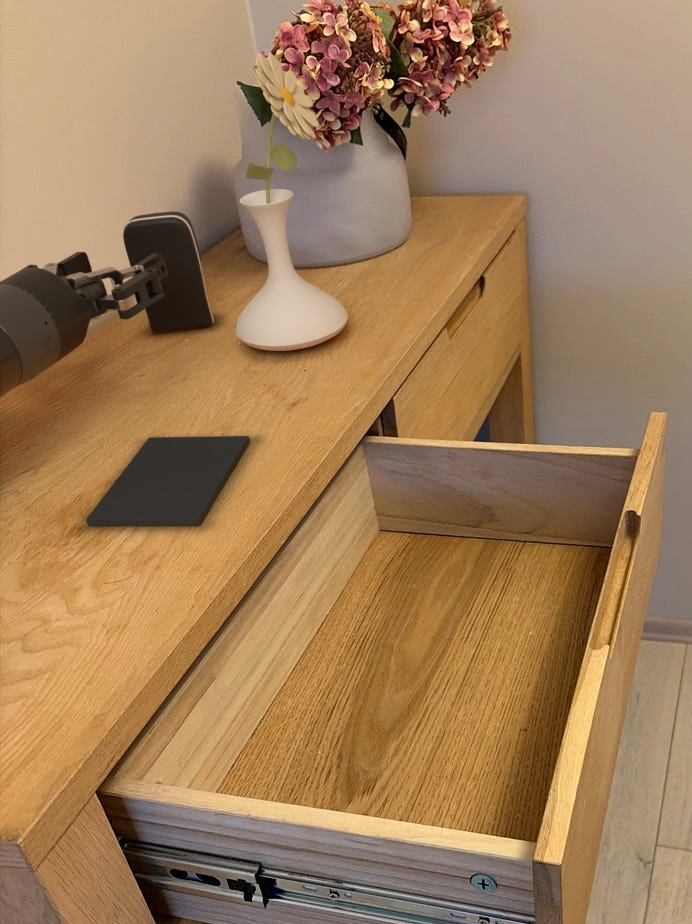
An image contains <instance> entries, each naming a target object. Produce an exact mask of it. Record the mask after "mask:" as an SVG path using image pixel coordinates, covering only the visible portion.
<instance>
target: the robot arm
mask: <svg viewBox="0 0 692 924" xmlns="http://www.w3.org/2000/svg"><path fill="white" fill-rule="evenodd" d="M167 275H168V272H167V268H166V265H165V261H164V259H163V256H162V255H161V254H152V255H150V256H148V257H147V258H145V259H144V260H142V261H141V262H139V263H138V264H136V265H135V266H133V267H131V266H130V267H126V268H123V269H119V270H118V269H117V268H115V267H113V266H108V267H103V268H101V269H96V270H93V268H92V265H91V263H90V259H89V256H88V254H87V252H85V251H76V252H74V253H73V254H71V255H69V256H68V257H66V258H64V259H63V260H61V261H59V262H48V263H47V264H45V265H44V266H43V267H42V268H41V267H39V266H38V265H37V264H28V265H26V266H25V267H23V268H21V269H20V270H18V271H16V272H15V273H12V274H11V275H9V276H8V277H6V278H4V279H2V280H0V399H1V398H2V397H4V396H5V395H7V394H8V393H9V392H11V391H12V390H13V389H15V388H16V387H18V386H21V385H24V384H25V383H27V382H30V381H32V380H33V379H35V378H36V377H38V376H40V374H43V372H45V371H47V370H48V369H49V368H51V367H52V366H54V365H55V364H56V363H58V362H60V361H61V360H62V359H63V358H65V357H66V356H68V355H69V354H70V353H73V351H75V350H76V349H78V348H79V347H80V346H81V345H82V344H83V342H84V341H85V339H86V337H87V333H88V329H89V326H90V322H91V321H94V320H97V319H100V318H101V317H102V315H105V314H109V313H111V312H115V311H117V315H118V317H119V319H120V320H129V319H131V318H133V317H135V316H137V315H138V314H139V313H141V312H142V311H144V310H145V308H147V307H149V306H150V305H152V304H153V303H155V302H156V301H158V300H159V299H161V298H162V297H164V293H163V290H162V286H161V283H160V281H161V280H162V279H164V278H165V277H166V276H167ZM128 278H129V279H128ZM105 279H109V280H110V283H111V286H112V289H111V290H110V291H111V293H110V294H108V291H107V288H106V286H105V283H104V281H103V280H105ZM125 279H128V280H126V281H124V280H125Z"/></svg>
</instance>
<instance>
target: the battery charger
mask: <svg viewBox="0 0 692 924" xmlns="http://www.w3.org/2000/svg"><path fill="white" fill-rule="evenodd" d="M195 232H196V231H195V229H194V226H193V224H192V221H191V220H190V218H189V217H188V216H187V215H186V214H184V213H183V212H180V211H162V212H152V213H145V214H140V215H135V216H133V217H132V218H131V219H129V220H128V222H126V224H125V225H124V226H123V230H122V239H123V244H124V248H125V252H126V255H127V259H128V262H129V266H130V267H133V266H135V265H136V264H138V263H139V262H141V261H142V260H144V259H145V258H147V257H148V256H150V255H152V254H161V255H162V256H163V259H164V261H165V265H166V268H167V272H168V275H167V276H166V277H165V278H164V279H162V280H161V281H160V283H161V286H162V290H163V293H164V297H162V298H161V299H159V300H158V301H156V302H155V303H153V304H152V305H150V306H149V307H147V308H145V309H144V310H145V314H146V316H147V320H148V325H149V328H150V331H151V332H152V333H163V332H165V333H167V332H175V331H176V332H177V331H184V330H190V329H191V330H192V329H198V328H199V329H200V328H204V327H209V326H212V325H213V324H214V323H215V316H214V313H213V310H212V307H211V302H210V298H209V294H208V291H207V285H206V281H205V275H204V272H203V271H204V270H203V267H202V255H201V251H200V247H199V246H200V245H199V243H198V239H197V236H196V233H195Z"/></svg>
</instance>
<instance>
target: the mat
mask: <svg viewBox="0 0 692 924" xmlns="http://www.w3.org/2000/svg"><path fill="white" fill-rule="evenodd" d="M250 443H251V440H250V436H249V435H229V436H228V435H227V436H226V435H225V436H224V435H221V436H159V437H157V436H155V437H153V436H152V437H148V438H147V439H146V441H145V442H144V443H143V445H142V446H141V447H140V448H139V450H138V451H137V452H136V454H135V455H134V456H133V458H132V459H131V460H130V462H129V463H128V464H127V465H126V466H125V468H124V469H123V470H122V472H121V473H120V474H119V476H118V477H117V478H116V480H115V481H114V482H113V484H112V485H111V486H110V487H109V489H108V490H107V492H105V494H104V495H103V497H102V498H101V499H100V501H99V502H98V503H97V505H96V506H95V507H94V508H93V510H92V511H91V513H89V515H88V516H87V517H86V519H85V522H86V524H87V526H88V527H200V526H201V524H202V523H203V521H204V520H205V518H206V516H207V514H208V513H209V511H210V510H211V508H212V506H213V505H214V503H215V501H216V500H217V499H218V496H219V494H220V493H221V491H222V490H223V488H224V487H225V485H226V483H227V481H228V479H229V478H230V476H231V475H232V473H233V471H234V470H235V468H236V467H237V464H238V463H239V462H240V460H241V458H242V456H243V455H244V453H245V451H246V450H247V448H248V446H249V445H250Z"/></svg>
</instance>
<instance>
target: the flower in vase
mask: <svg viewBox="0 0 692 924" xmlns="http://www.w3.org/2000/svg"><path fill="white" fill-rule="evenodd" d="M257 56H258V58H257V59H256V60H255V65H256V67H257V68H255V69H254V72H255V74H256V76H257V78H258V79H257V84H258V86H259V88H260V89H261V91H262V94H263V97H264V99H265V100H266V102H267V103H268V104H270V110H271V112H272V115H271V119H270V124H269V129H268V135H267V136H268V137H267V153H266V155H267V156H266V166H263V165H259V164H256V163H254V162H252V161H248V164H247V168H246V173H245V177H246V178H247V179H249V180H250V179H251V180H260V181H262V180H263V181H264V180H265V189H262V190H258V191H253V192H250V193H247V194H245V195H243V196H242V197H240V199H239V202H240V205H242V206H243V208H245V209H246V211H247V212H248V213H249V214H250V216H251V217H252V220H254V222H255V225H256V226H257V229H258V231H259V233H260V237H261V240H262V243H263V246H264V250H265V254H266V255H265V256H266V260H267V267H268V268H267V270H268V274H267V279H266V281H265V282H264V285H263V286H262V287H261V289H260V290H259V291H258V292H257V293H256V294H255V296H253V297H252V299H251V300H250V301H249V302H248V303H247V305H246V306H245V307H244V308H243V309H242V312H241V313H240V315H239V316H238V318H237V319H236V325H235V335H236V336H237V338H238V339H239V340H240V341H241V342H242V343H244V344H245V345H246V346H248V347H250V348H254V349H257V350H263V351H271V352H273V351H274V352H288V351H289V352H290V351H295V350H296V351H298V350H301V349H307V348H310V347H314V346H316V345H319V344H322V343H324V342H326V341H328V340H331V339H332V338H334V337H335V336H337V335H338V334H340V333H341V332H342V330H343V329H344V328H345V326H346V324H347V321H348V319H349V314H348V312H347V310H346V308H345V307H344V305H343V303H341V302H340V301H339V300H338V299H336V298H335V297H334V296H333V295H331V294H329V293H328V292H326V291H325V290H322V289H321V288H319V287H318V286H316V285H314V284H312V283H311V282H308V281H307V280H305V279H304V278H303V277H301V276H300V275H299V274H298V272H297V271H296V269H295V267H294V265H293V262H292V258H291V253H290V249H289V241H288V231H287V219H288V218H287V217H288V212H289V211H288V210H289V208H290V207H289V206H290V204H291V201H292V199H293V197H294V192H293V191H291V190H290V189H285V188H284V189H283V188H271V177H272V175H273V173H274V171H275V169H274V168H272V167H271V166H272V165H271V163H272V162H273V163H274V164H275V165H276V166H277V167H279V168H280V169H281V170H283V171H284V172H290V171H293V169H294V168H295V167H296V166H297V161H298V157H297V156H296V154H295V152H294V151H293V150H292V149H291V148H290V147H288V146H287V145H285V144H283V143H279V142H276V143H274V144H273V145H272V142H273V141H272V140H273V133H274V126H275V123H276V119H278V120H279V121H280V123H281V124H282V125H283V126H285V127H287V130H288V131H289V132H290V134H292V136H293V137H296V136H299V138H300V139H302V140H306V139H307V140H308V141H311V140H312V139H315V140H316V139H317V136H316V134H315V132H314V130H313V129H312V128H316V129H319V128H320V123H319V122H318V118H317V115H316V114H315V112H314V111H313V110H311V109H310V108H312V107H314V101H313V100H312V98H311V97H310V96H309V95H308V94H305V91H304V88H303V87H302V86H301V85H299V84H298V83H297V76H296V74H295V72H294V71H293V70H291V69H289V70H287V71H286V70H283V67H282V64H281V63H280V61H279V59H278V58H276V57H275V55H274V54H273V53H271V52H268V54H267V57H265V55H263V53H261V52H259V53H258V54H257Z"/></svg>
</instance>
